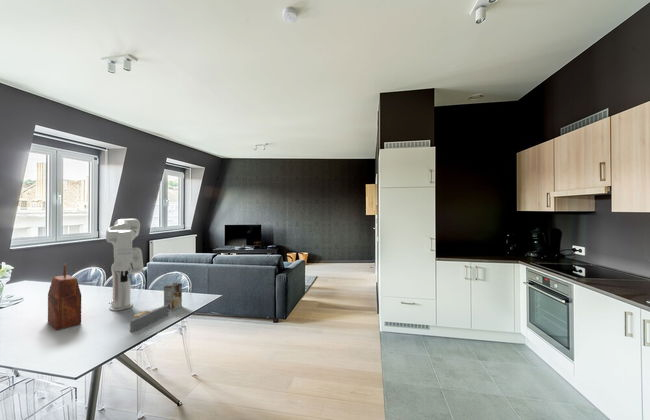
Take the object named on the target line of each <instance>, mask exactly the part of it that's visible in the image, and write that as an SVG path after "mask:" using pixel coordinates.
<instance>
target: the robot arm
mask: <svg viewBox="0 0 650 420" xmlns="http://www.w3.org/2000/svg"><path fill="white" fill-rule="evenodd" d="M140 229H141V222H140V221H139V219H137V218H120V219H119V218H118V219H117V220H115V222H114V224H113V226H110V227H108V228H107V230H106V232H105V239H106V242H107V243H110V244H112V246H113V263H112V264H111V268H110V269H111V274H112V275H111V277H112V300H110V301H109V303H108V304H109V305H111V306H110V307H109V310H110V311H116V312H117V311H122V310H127V309H130V308H131V307H133V306H134V303H133V302H131V282H132V281H131V279H130V278H129V277H128V276H129V275H135V274H140V273H142V272H143V270H144V262H143V261H144V260H143V259H144V258H143V252H142V249H141V248H140V247H133V241H134V240H135V239H136V237H138V236H139V233H140Z"/></svg>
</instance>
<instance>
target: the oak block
mask: <svg viewBox="0 0 650 420" xmlns="http://www.w3.org/2000/svg"><path fill="white" fill-rule="evenodd" d="M151 311H152V310H150V311H149V310H144V311H141V312H139V313H137V314H134V319H135V318H138V317H140V316H142V315H144V314H147V313H149V312H151Z"/></svg>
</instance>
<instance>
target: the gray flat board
mask: <svg viewBox="0 0 650 420" xmlns="http://www.w3.org/2000/svg"><path fill="white" fill-rule="evenodd" d="M150 311H151V312H149V313H147V314H144V315H142V316H140V317H138V318H135V317H134V319H131V320H130V321H129V328H130V329H129V332H130V333H134V332H136V331H139V330H140V329H142V328H145V327H146V326H148V325H150V324H152V323H154V322H157V321H158V320H160V319H162V318H164V317H166V316H168V315H169V311H168V305H164V304H163V305H162V306H161V307H158V308H155V309H153V310H150Z"/></svg>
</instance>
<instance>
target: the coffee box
mask: <svg viewBox="0 0 650 420" xmlns="http://www.w3.org/2000/svg"><path fill="white" fill-rule="evenodd" d="M182 286H183V284H182V283H181V282H180V283H179V282H174V283H170V284H166V285H164V286H163V306H164V305H168V312H173V311H174V310H177V309H179V308H181V307H182V306H183V301H182V300H183V299H182V298H183V297H182V296H183V294H182V293H183V292H182V289H183V287H182Z"/></svg>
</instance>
